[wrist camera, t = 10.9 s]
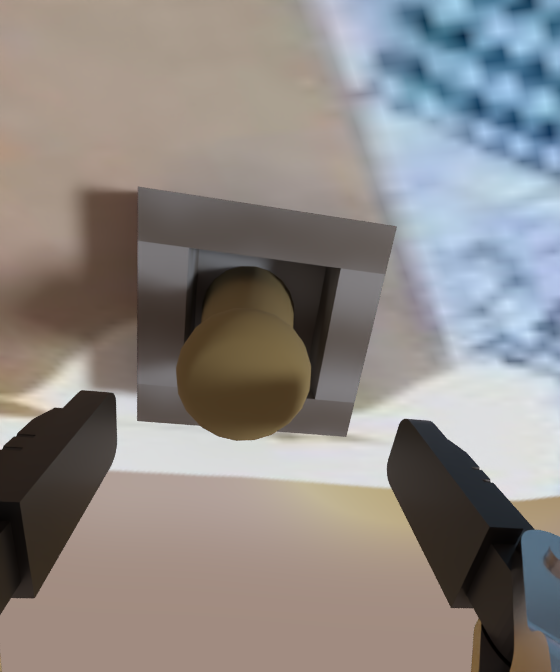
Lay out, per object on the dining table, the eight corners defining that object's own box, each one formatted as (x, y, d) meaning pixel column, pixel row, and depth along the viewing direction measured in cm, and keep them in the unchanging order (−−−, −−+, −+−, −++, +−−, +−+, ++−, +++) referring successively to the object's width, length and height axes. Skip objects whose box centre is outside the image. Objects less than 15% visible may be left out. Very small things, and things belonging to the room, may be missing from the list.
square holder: (160, 193, 19) (137, 186, 16) (371, 225, 21) (396, 226, 17) (155, 388, 24) (137, 420, 20) (332, 404, 25) (346, 436, 21)
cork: (308, 331, 22) (355, 425, 12) (230, 368, 23) (210, 491, 13) (269, 248, 20) (284, 277, 10) (184, 292, 21) (115, 362, 11)
